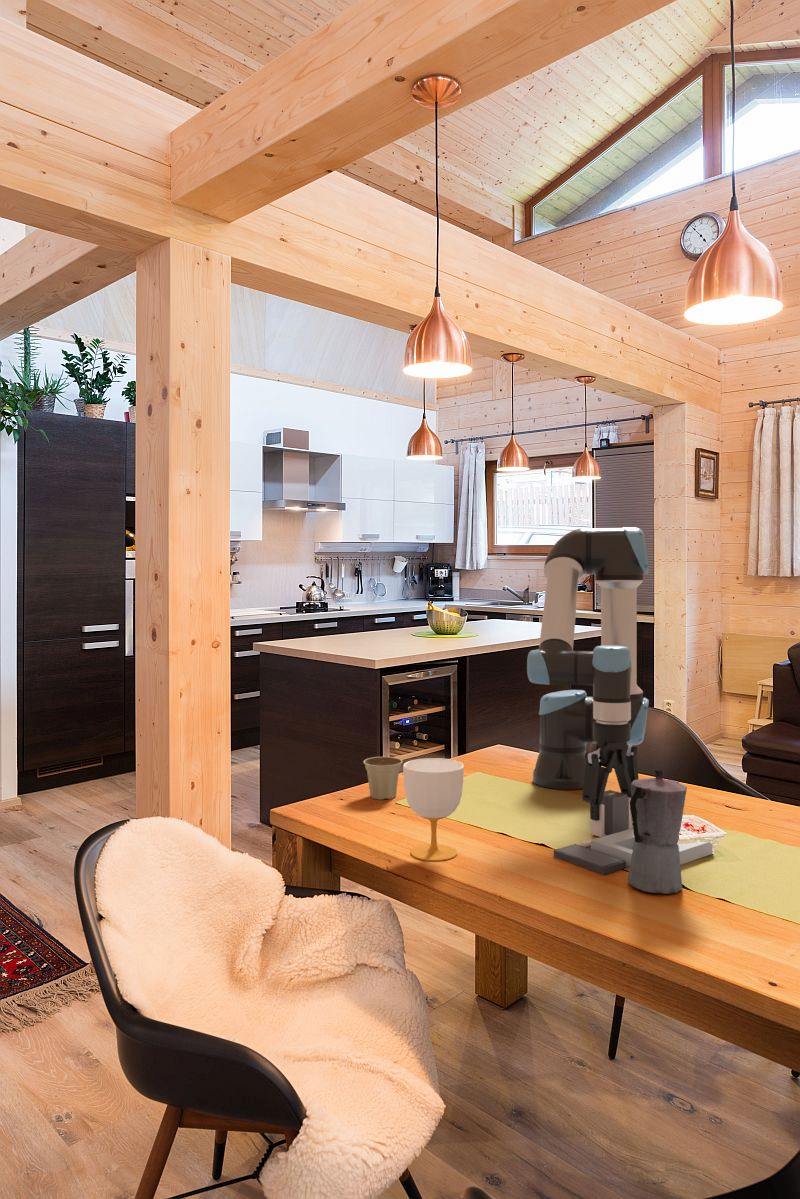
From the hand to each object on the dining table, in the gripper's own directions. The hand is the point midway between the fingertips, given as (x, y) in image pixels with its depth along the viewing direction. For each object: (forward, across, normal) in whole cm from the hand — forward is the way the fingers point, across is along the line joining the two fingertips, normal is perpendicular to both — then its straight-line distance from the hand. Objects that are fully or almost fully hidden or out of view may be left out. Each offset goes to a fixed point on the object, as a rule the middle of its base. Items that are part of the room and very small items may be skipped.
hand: (611, 831), depth 168 cm
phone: (0, +17, +9) cm, 19 cm away
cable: (0, +8, +3) cm, 8 cm away
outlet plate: (0, +4, +13) cm, 14 cm away
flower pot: (0, +22, -51) cm, 56 cm away
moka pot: (+1, +17, +24) cm, 29 cm away
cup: (0, +37, -12) cm, 39 cm away
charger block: (0, 0, 0) cm, 0 cm away
